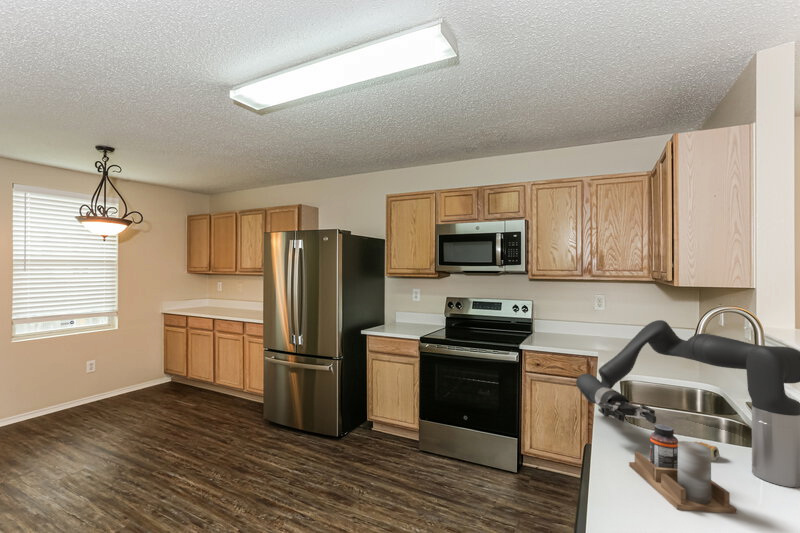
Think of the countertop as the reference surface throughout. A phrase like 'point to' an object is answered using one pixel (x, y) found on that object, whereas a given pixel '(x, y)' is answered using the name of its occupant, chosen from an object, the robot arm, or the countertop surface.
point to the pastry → (712, 451)
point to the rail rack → (686, 480)
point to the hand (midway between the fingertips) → (638, 419)
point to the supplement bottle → (664, 447)
